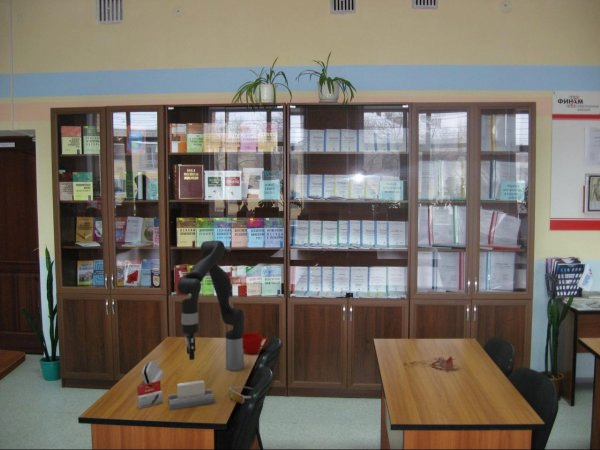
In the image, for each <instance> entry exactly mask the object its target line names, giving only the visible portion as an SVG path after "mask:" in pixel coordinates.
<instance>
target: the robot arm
mask: <svg viewBox="0 0 600 450" xmlns="http://www.w3.org/2000/svg"><path fill="white" fill-rule="evenodd" d="M225 249H226V247H225V244H224V242H223V241H221V240H208V241H207V240H206V241H203V242H202V243H201V245H200V253H201V257H202V259H201V260H199V261H198V262H196V263H195V264H194V265H193V267H192V268H191V269H190V271H189V272H187V273H186V274H184V275H183V276H181V278H179V280H178V282H177V284H176V288H177V291H178V293H179V294H182V295H190V297H189V298H184V299H183V300H182V301H181V319H180V320H181V333H182V334H185V345H186V353H187V355H188V357H189V358H188V359H189V361H193V360H195V352H196V351H197V350H196V336H195V334H196V333H198V332H199V314H198V309H199V307H198V302H199V297H200V293H201V290H202V283H201V282H202V281H203V280H204V278H205V276H206V275H207V274H208V273H209V276H210V279H211V282H212V286H213V289H214V292H215V294H216V297H217V302H218V305H219V311H220V315H221V319H222V322H223V323H224V324H225V325H228V326H232V329H230V330H228V331H226V332H225V369H226V370H227V371H230V372H234V371H235V372H236V371H240V370H243V369H245V367H244V366H245V351H244V350H243V334H244V330H245V313H244V311H243V309H241V308H238V307H236V308H235V307H232V305H231V303H230V296H231V294H232V292H233V285H232V282H231V278H230V276H229V274H228V273H227V272H226V271H225V270H224V269H223V268H222V267H221V266H220V265H219V264H218V262H219V261H220V260H221V259H222V258H223V257H224V255H225V252H226V251H225Z"/></svg>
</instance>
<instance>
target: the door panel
mask: <svg viewBox="0 0 600 450" xmlns="http://www.w3.org/2000/svg"><path fill="white" fill-rule="evenodd" d="M176 385H177V386H176V387H177V394H178V399H179V398H186V397H193V396H200V395H205V390H206V387H205V386H206V385H205V381H204V380H195V381H194V380H193V381H187V382H181V383H177V384H176Z"/></svg>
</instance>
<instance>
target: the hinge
mask: <svg viewBox="0 0 600 450" xmlns="http://www.w3.org/2000/svg"><path fill="white" fill-rule="evenodd" d="M164 374H165V373H164V371H163V370H161V369H160V367H159V364H158V362H157V361H156V360H152V361H150V362H148V363H145V365H144V366H143V367H142V371H141V376H142V379H143V382H144V384H148V383H152V382H156V381H160V382H161V380H162V378H163V376H164ZM148 387H150V385H148V386H146V388H148Z"/></svg>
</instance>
